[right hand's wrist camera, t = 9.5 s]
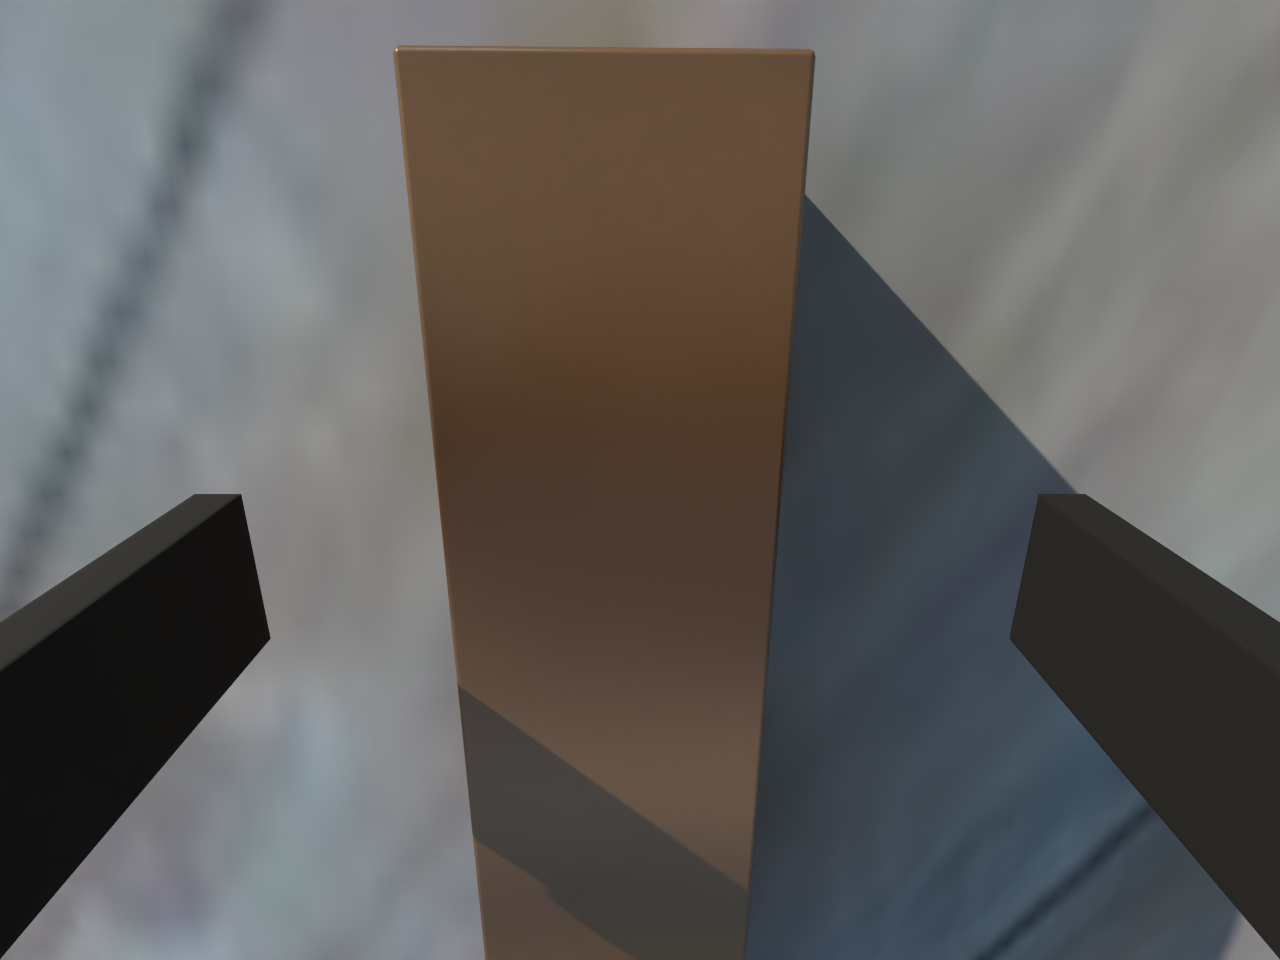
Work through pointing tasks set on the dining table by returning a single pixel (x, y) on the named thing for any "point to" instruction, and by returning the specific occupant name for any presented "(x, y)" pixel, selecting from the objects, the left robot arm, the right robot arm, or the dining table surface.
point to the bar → (609, 467)
